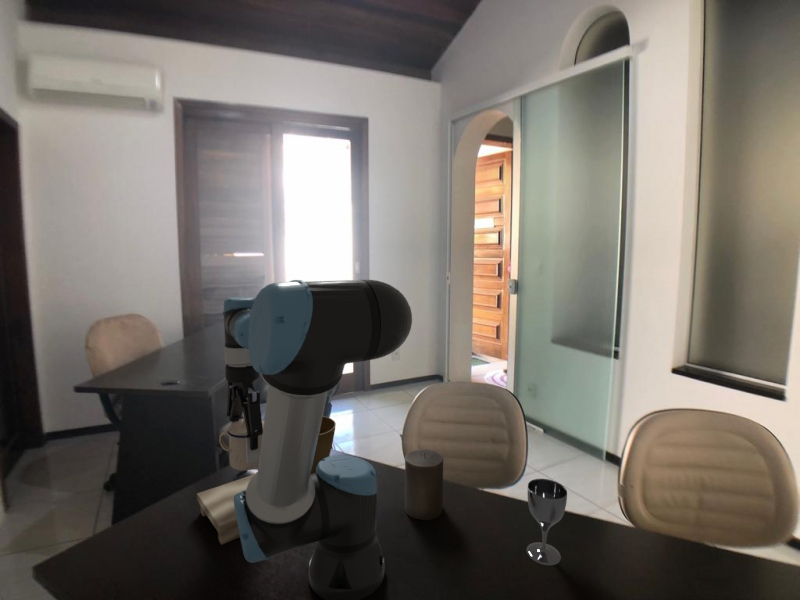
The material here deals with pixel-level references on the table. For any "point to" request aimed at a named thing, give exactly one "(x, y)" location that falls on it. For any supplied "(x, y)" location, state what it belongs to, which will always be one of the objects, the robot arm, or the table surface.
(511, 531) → the table surface
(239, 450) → the teacup with lid
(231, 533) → the birch shelf
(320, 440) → the plant pot
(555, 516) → the wine glass
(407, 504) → the pillar candle
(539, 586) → the table surface
